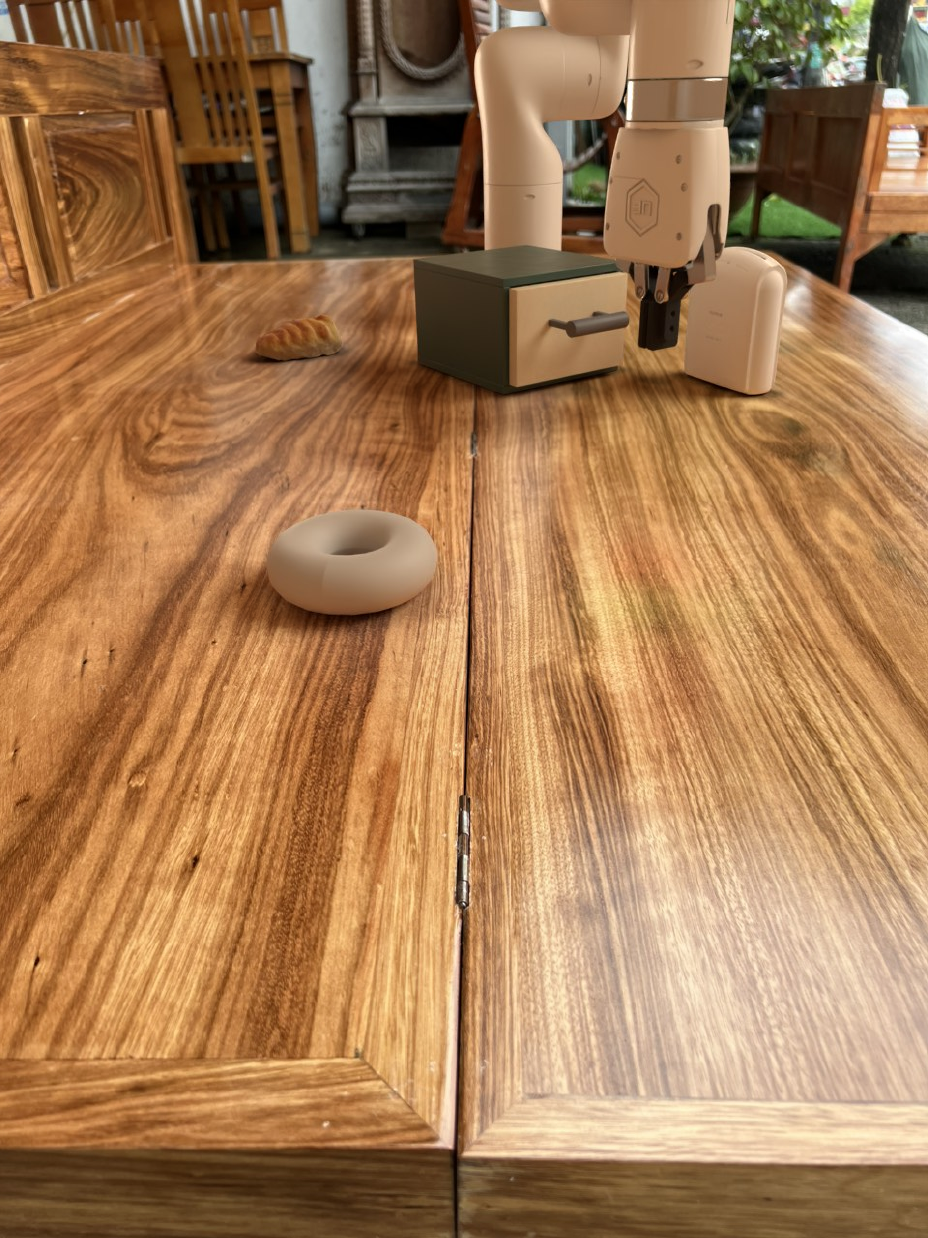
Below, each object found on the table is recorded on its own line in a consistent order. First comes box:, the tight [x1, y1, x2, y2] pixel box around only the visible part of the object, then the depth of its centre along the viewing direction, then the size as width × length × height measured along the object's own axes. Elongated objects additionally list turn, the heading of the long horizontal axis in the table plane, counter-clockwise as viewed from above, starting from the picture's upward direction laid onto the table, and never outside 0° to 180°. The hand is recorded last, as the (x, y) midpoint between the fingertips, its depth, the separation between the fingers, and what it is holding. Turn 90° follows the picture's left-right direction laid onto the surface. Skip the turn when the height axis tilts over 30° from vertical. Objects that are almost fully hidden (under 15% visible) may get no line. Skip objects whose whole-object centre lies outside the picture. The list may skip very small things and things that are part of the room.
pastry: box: [254, 314, 343, 362], centre depth 107 cm, size 9×7×4 cm
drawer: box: [509, 271, 630, 387], centre depth 95 cm, size 19×13×9 cm
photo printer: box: [683, 246, 788, 395], centre depth 90 cm, size 10×4×12 cm, turn 26°
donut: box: [265, 509, 439, 616], centre depth 56 cm, size 10×4×10 cm
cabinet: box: [412, 245, 624, 395], centre depth 98 cm, size 16×15×11 cm
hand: (657, 346), depth 83 cm, fingers closed
